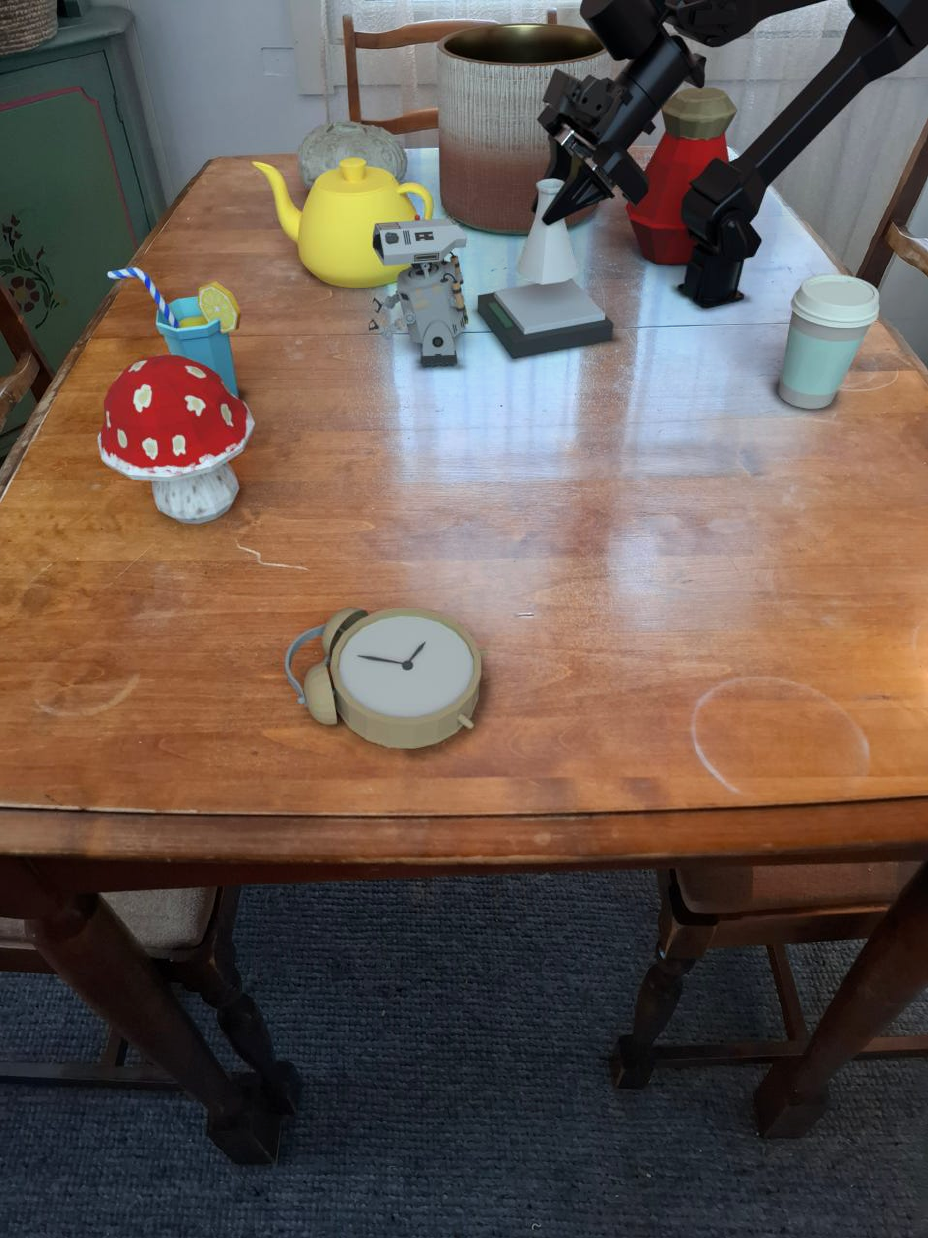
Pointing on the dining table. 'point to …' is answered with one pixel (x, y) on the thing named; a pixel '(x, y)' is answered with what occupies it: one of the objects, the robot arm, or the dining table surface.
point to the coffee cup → (825, 336)
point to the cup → (197, 324)
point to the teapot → (346, 221)
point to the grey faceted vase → (547, 243)
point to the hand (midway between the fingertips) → (538, 217)
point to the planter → (503, 117)
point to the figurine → (425, 284)
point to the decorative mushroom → (176, 435)
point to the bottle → (679, 171)
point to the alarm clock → (393, 675)
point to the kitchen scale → (544, 318)
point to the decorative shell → (349, 150)
